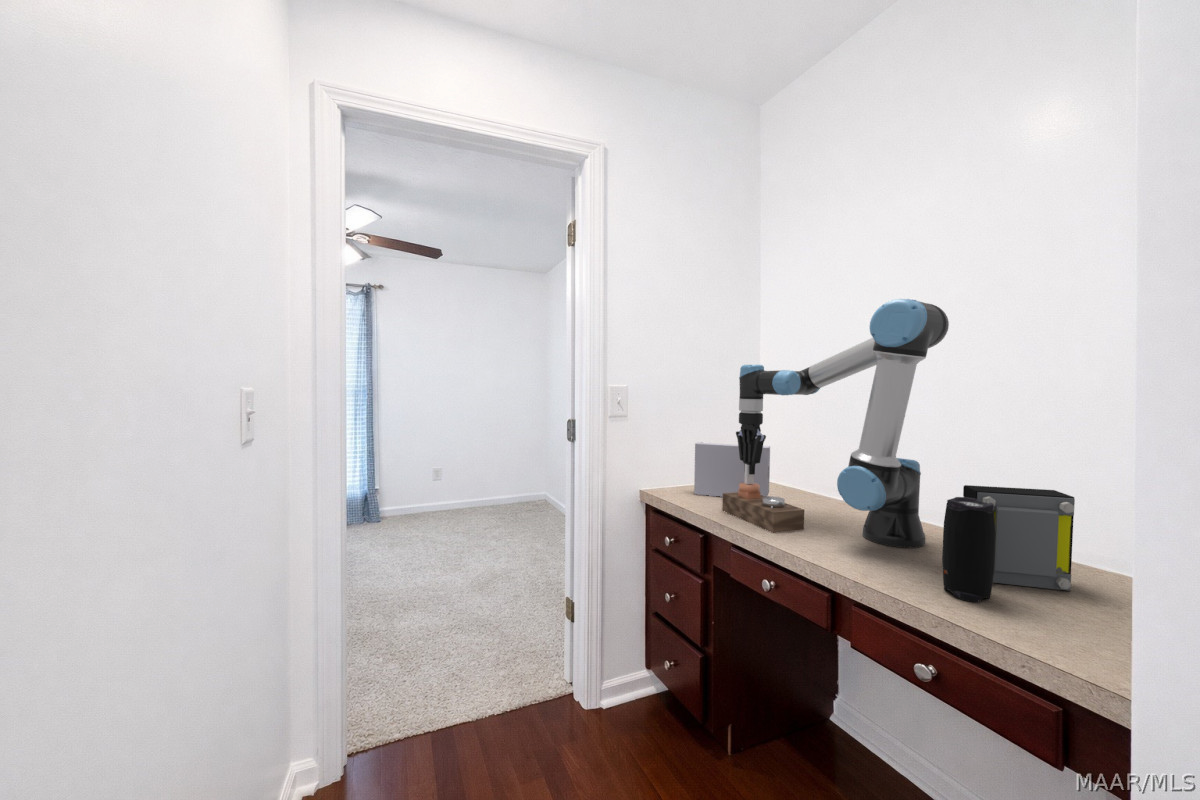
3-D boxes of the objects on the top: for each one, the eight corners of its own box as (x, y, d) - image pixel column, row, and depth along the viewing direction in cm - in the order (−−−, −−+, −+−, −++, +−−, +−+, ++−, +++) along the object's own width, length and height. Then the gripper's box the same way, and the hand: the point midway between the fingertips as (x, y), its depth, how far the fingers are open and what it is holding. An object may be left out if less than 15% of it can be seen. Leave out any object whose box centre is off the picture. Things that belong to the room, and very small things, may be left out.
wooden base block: (803, 529, 146) (804, 509, 146) (773, 533, 143) (773, 512, 142) (749, 508, 171) (750, 491, 171) (722, 510, 167) (722, 493, 167)
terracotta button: (763, 503, 160) (763, 485, 160) (746, 505, 158) (747, 487, 158) (751, 499, 166) (751, 482, 166) (734, 500, 164) (735, 483, 164)
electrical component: (976, 584, 107) (980, 493, 107) (957, 567, 117) (961, 483, 117) (1076, 595, 102) (1081, 499, 102) (1048, 576, 112) (1052, 489, 111)
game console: (696, 491, 196) (697, 441, 196) (769, 498, 186) (770, 445, 185) (693, 494, 191) (694, 443, 190) (768, 501, 181) (769, 447, 180)
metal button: (788, 519, 149) (789, 500, 149) (771, 521, 147) (771, 501, 147) (774, 514, 155) (775, 495, 155) (757, 515, 153) (758, 497, 153)
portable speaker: (946, 599, 100) (949, 503, 99) (937, 582, 108) (940, 494, 107) (999, 608, 96) (1002, 508, 95) (986, 590, 104) (989, 498, 104)
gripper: (773, 413, 156) (771, 487, 157) (748, 410, 169) (746, 479, 170) (753, 413, 154) (751, 488, 155) (729, 410, 166) (727, 480, 167)
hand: (749, 483), depth 162 cm, fingers closed
